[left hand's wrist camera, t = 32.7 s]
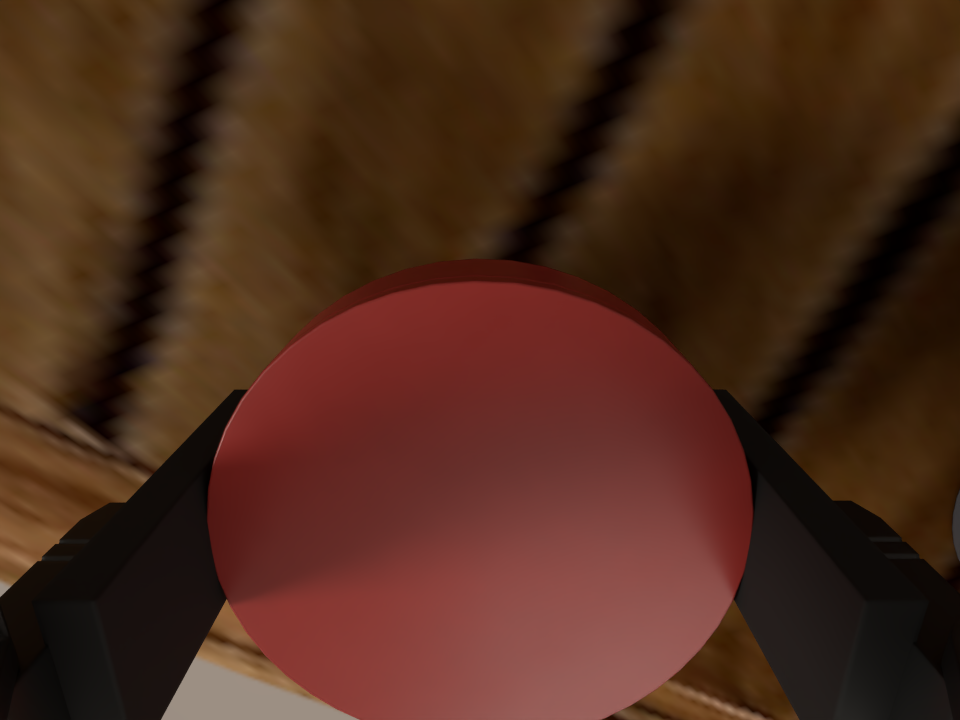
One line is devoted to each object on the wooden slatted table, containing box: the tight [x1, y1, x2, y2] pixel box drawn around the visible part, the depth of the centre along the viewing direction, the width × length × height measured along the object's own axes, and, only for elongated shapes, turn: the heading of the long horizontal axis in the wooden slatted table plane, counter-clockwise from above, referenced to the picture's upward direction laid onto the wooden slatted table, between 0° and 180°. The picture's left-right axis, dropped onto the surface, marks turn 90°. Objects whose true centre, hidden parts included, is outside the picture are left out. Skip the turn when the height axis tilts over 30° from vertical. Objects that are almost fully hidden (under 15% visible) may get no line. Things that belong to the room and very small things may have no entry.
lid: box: [207, 259, 754, 720], centre depth 11 cm, size 9×9×2 cm
